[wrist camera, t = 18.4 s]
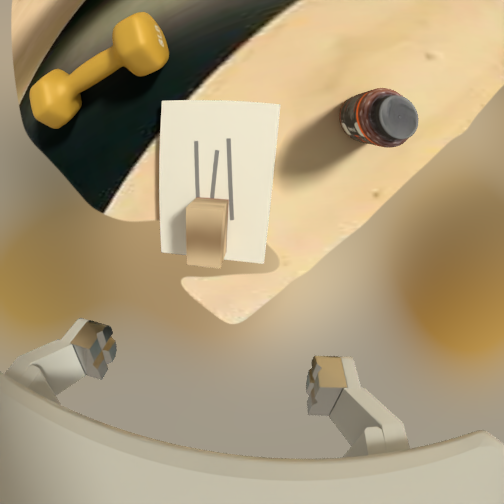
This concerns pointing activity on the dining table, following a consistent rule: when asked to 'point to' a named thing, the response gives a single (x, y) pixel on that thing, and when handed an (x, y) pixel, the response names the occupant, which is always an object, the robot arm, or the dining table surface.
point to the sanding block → (206, 232)
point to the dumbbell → (100, 69)
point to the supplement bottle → (379, 118)
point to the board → (218, 170)
